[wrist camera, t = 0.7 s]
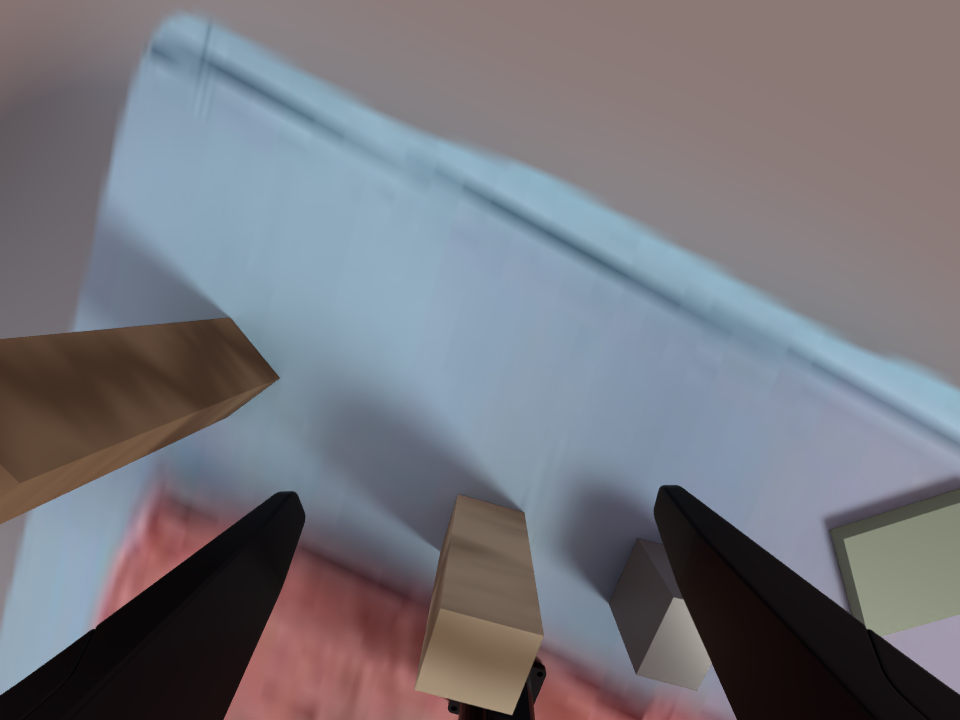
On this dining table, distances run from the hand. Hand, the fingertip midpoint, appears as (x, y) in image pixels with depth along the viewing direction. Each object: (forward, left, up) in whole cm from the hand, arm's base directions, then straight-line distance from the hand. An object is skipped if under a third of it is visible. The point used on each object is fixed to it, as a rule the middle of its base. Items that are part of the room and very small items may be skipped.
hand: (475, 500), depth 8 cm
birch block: (-12, -3, -14) cm, 19 cm away
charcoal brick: (-12, -16, -14) cm, 25 cm away
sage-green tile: (-5, -33, -15) cm, 37 cm away
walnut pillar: (-5, +17, -14) cm, 23 cm away
